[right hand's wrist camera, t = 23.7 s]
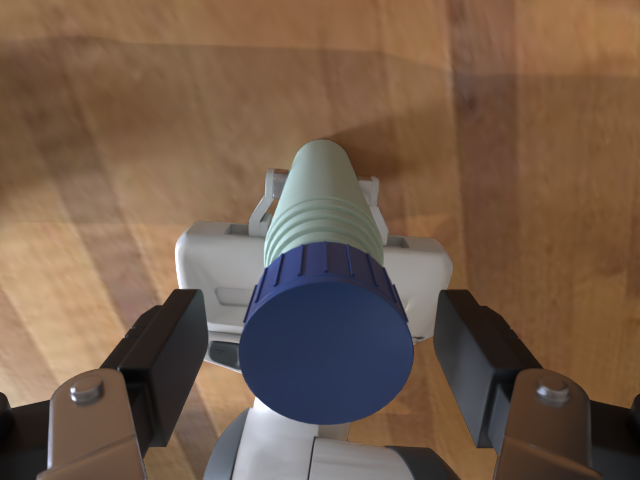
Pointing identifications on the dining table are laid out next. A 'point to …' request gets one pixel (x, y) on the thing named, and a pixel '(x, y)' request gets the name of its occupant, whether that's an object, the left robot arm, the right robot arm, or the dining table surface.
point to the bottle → (322, 205)
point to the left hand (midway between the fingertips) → (322, 173)
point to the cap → (325, 336)
